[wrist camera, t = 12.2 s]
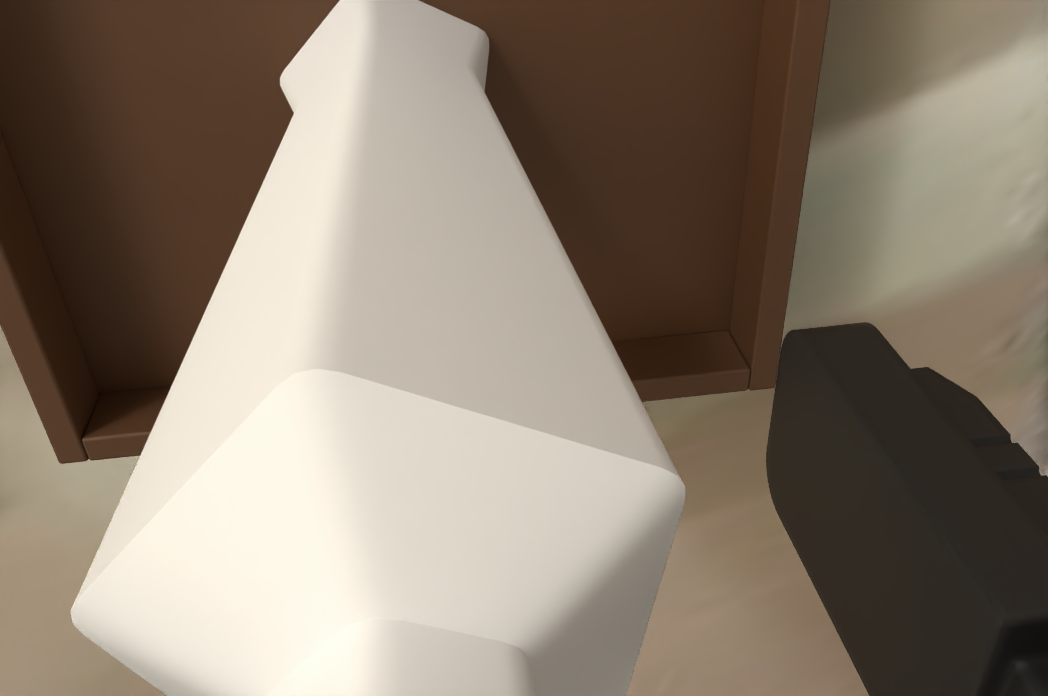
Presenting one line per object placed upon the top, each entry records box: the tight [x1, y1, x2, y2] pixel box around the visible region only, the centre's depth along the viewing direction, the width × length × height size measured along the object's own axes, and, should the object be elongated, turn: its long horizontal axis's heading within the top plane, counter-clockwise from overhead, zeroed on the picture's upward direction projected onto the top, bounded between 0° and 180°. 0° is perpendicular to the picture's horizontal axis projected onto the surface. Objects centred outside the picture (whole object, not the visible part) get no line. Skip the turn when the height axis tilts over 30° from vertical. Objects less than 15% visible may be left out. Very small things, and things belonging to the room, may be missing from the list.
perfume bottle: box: [71, 0, 686, 696], centre depth 11 cm, size 5×4×15 cm
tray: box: [0, 0, 830, 464], centre depth 17 cm, size 15×13×2 cm
